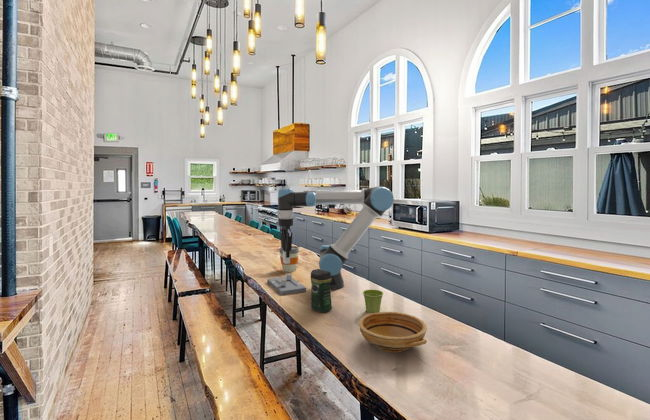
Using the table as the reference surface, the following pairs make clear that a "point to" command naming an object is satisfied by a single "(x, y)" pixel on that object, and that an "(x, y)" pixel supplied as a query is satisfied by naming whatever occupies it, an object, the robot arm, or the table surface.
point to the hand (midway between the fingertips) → (286, 262)
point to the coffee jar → (321, 290)
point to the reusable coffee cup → (293, 260)
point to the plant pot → (373, 300)
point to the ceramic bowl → (393, 330)
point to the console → (290, 287)
